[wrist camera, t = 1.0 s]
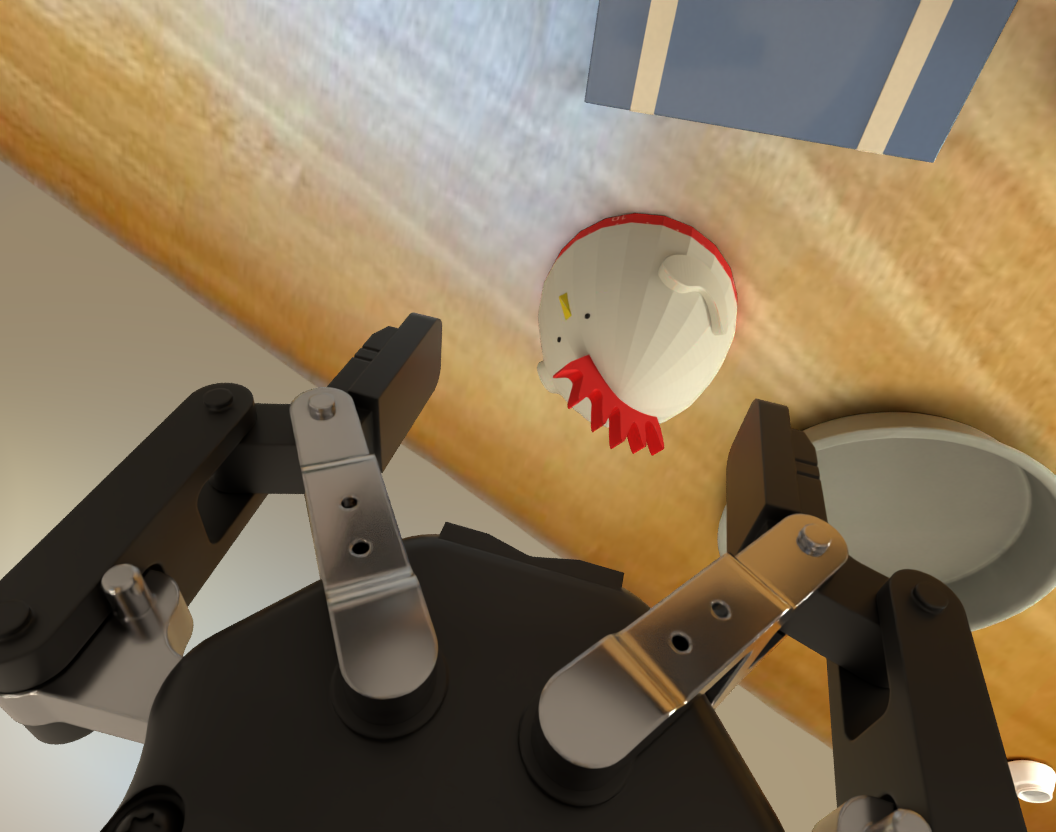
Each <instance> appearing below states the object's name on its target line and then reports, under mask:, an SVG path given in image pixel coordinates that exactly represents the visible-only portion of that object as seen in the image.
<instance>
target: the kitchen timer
mask: <svg viewBox="0 0 1056 832" xmlns="http://www.w3.org/2000/svg"><path fill="white" fill-rule="evenodd" d="M736 315H737V292H736V288H735V284H734V280H733V276H732V272H731V269H730V267H729V265H728V264H727V262H726V261H725V259H724V258H723V256H722V255H721V253H720V252H719V250H718V249H717V247H716V246H715V245H714V244H713V243H712V242H711V241H709V240H708V239H707V238H706V237H704V236H703V235H702V234H701V233H699V232H698V231H697V230H696V229H694V228H693V227H691V226H689V225H686V224H684V223H681V222H679V221H676V220H673V219H671V218H668V217H666V216H659V215H649V214H638V213H633V214H627V215H622V216H617V217H611V218H606V219H604V220H602V221H600V222H598V223H596V224H594V225H592V226H590V227H588V228H586V229H584V230H582V231H580V232H579V233H578V234H577V235H576V236H575V237H574V238H573V239H572V240H571V241H570V242H569V243H568V244H567V245H566V246H565V247H564V248H563V249H562V250H561V252H560V253H559V255H558V257H557V259H556V261H555V263H554V265H553V266H552V268H551V270H550V272H549V274H548V276H547V278H546V280H545V282H544V285H543V290H542V296H541V302H540V307H539V314H538V322H539V332H540V339H541V346H542V353H543V361H541V362H539V364H538V366H537V371H538V375H539V378H540V380H541V382H542V384H543V385H544V387H545V388H546V389H547V390H548V391H549V392H551V393H557V394H560V395H561V396H562V397H563V398H564V399H565V400H566V401H567V402H568V409H570V408H573V409H574V410H575V411H577V412H578V413H580V414H581V415H582V416H583V417H584V418H585V419H586V420H588V421H590V422H591V431H592V432H594V431H596V430H597V429H599V428H600V427H602V426H605V427H609V445H610V449H612V448H614V447H616V446H617V445H619V444H620V443H622V442H624V441H625V439H626V437H627V438H628V442H629V445H630V449H631V451H632V453H633V454H634V453H636V452H638V451H639V450H641V449H643V448H644V447H646V442H647V445H648V448H649V451H650V453H651V455H652V456H653V455H654V454H656V453H658V452H660V451H661V450H663V449H664V442H663V437H662V432H661V428H660V425H659V424H660V423H663V422H666V421H667V420H669V419H671V418H672V417H674V416H675V415H677V414H679V413H680V412H682V411H684V410H685V409H687V408H688V407H689V406H691V405H692V404H693V402H694V401H695V400H696V399H697V398H698V397H699V396H700V395H701V393H702V392H703V391H704V390H705V389H706V388H707V387H708V386H709V384H710V383H711V381H712V380H713V379H714V377H715V376H716V374H717V372H718V371H719V369H720V368H721V366H722V364H723V361H724V359H725V357H726V355H727V352H728V350H729V348H730V345H731V343H732V341H733V338H734V335H735V327H736Z"/></svg>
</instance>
